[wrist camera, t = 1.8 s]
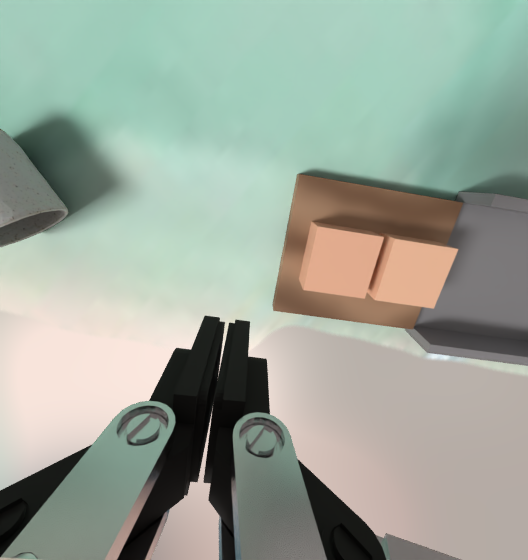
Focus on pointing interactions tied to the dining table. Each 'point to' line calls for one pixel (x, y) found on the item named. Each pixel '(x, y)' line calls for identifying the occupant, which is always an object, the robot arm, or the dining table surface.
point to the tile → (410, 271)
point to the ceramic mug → (24, 196)
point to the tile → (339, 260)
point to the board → (360, 215)
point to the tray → (483, 285)
